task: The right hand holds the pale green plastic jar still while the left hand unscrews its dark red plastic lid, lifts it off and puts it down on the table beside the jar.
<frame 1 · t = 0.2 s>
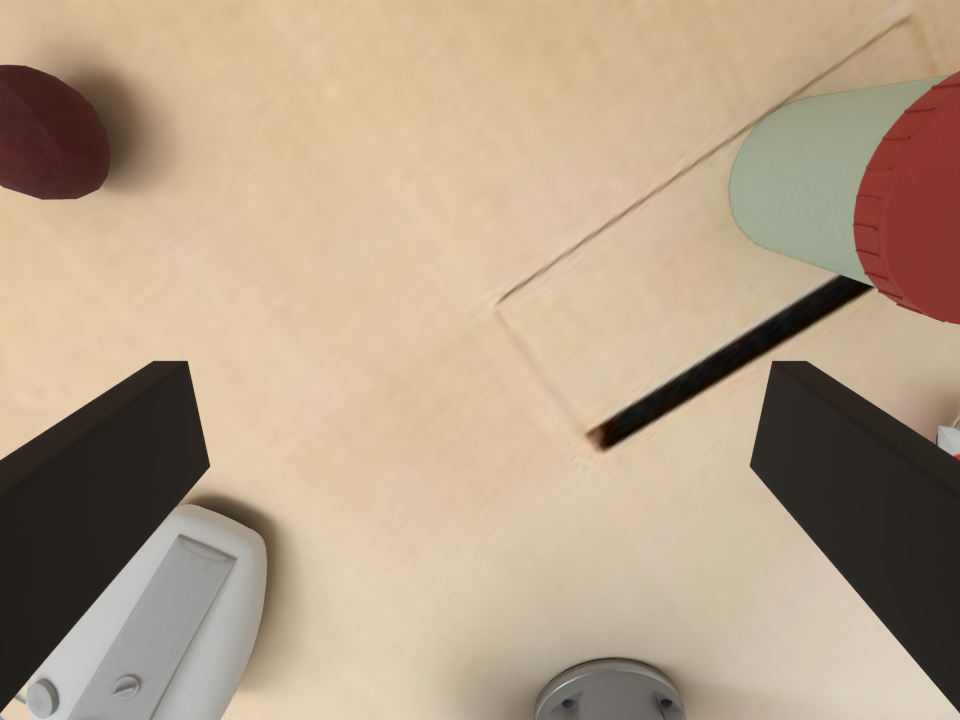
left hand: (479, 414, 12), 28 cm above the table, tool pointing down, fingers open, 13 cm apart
jar: (803, 178, 37), on the table
fish: (888, 454, 45), on the table
projector: (186, 592, 51), on the table
potato: (79, 138, 36), on the table
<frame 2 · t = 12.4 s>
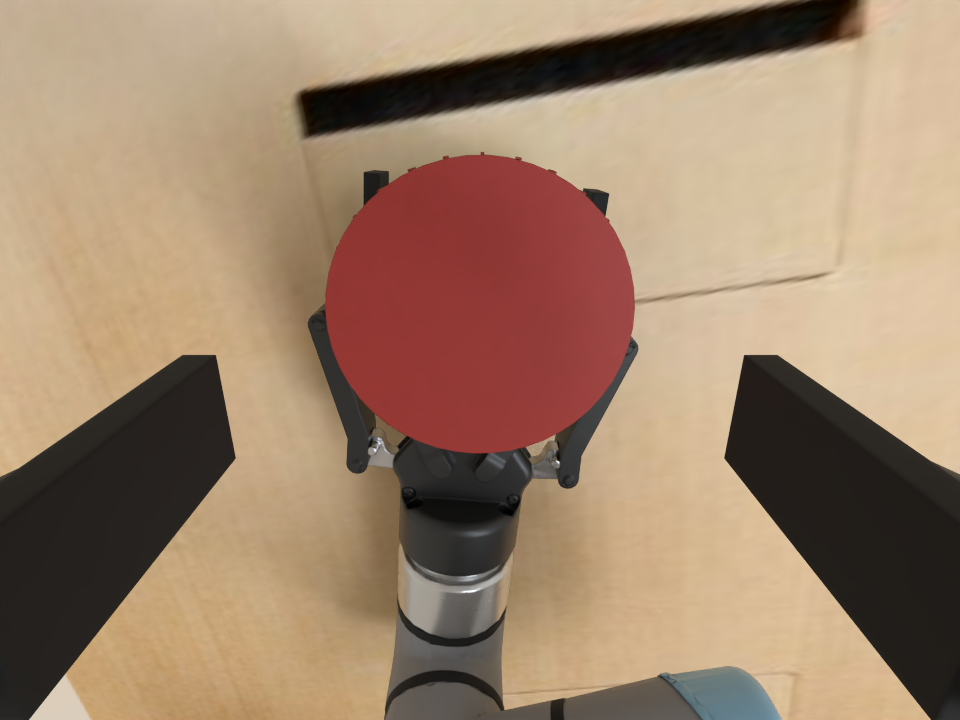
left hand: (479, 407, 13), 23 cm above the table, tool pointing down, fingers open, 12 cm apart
right hand: (486, 181, 27), fingers closed on jar, 10 cm apart
lid: (479, 317, 19), point 16 cm above the table, screwed on, not yet turned
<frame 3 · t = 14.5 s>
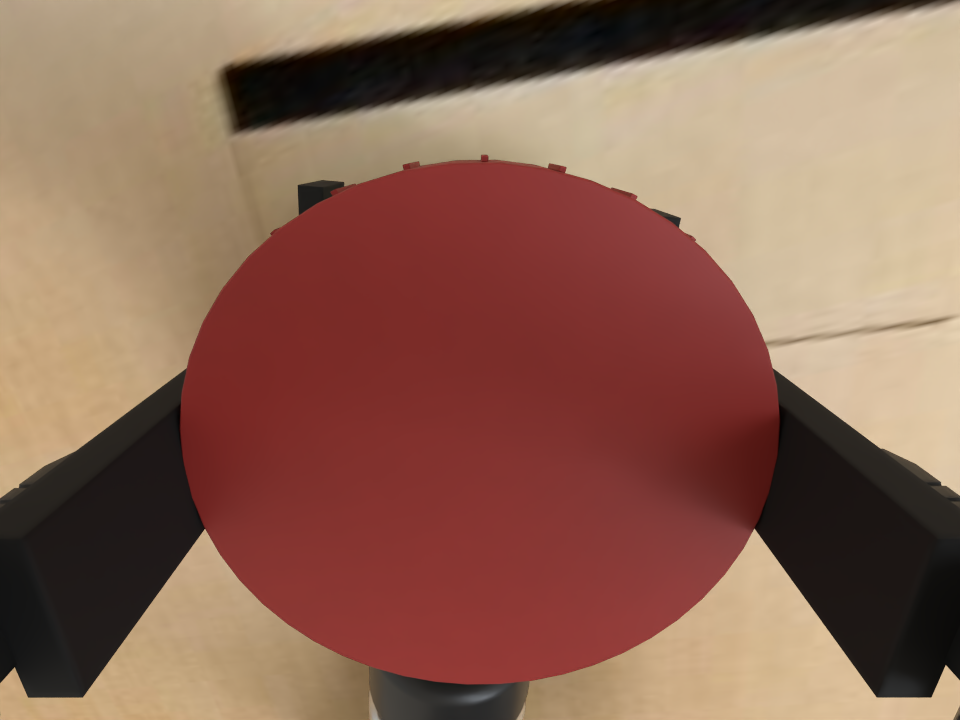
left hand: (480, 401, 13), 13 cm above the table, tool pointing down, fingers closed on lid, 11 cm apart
lid: (479, 466, 10), point 16 cm above the table, screwed on, not yet turned, touching left hand
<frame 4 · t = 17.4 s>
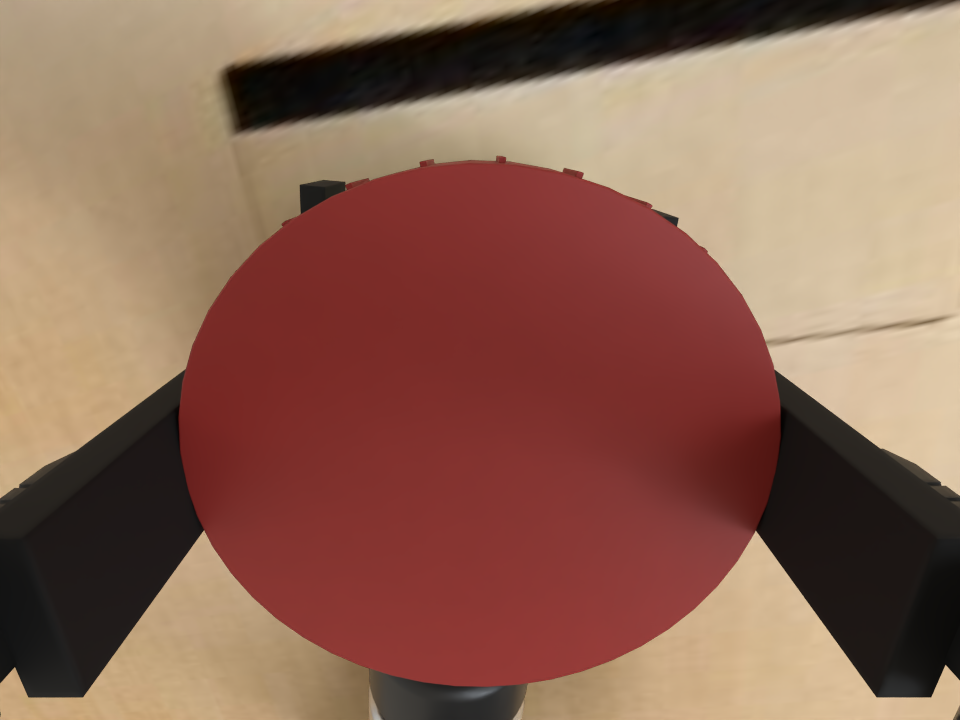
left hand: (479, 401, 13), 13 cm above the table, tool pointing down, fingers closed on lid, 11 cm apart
lid: (479, 467, 10), point 16 cm above the table, turned 87° so far, risen 0.2 cm, still on its thread, touching left hand
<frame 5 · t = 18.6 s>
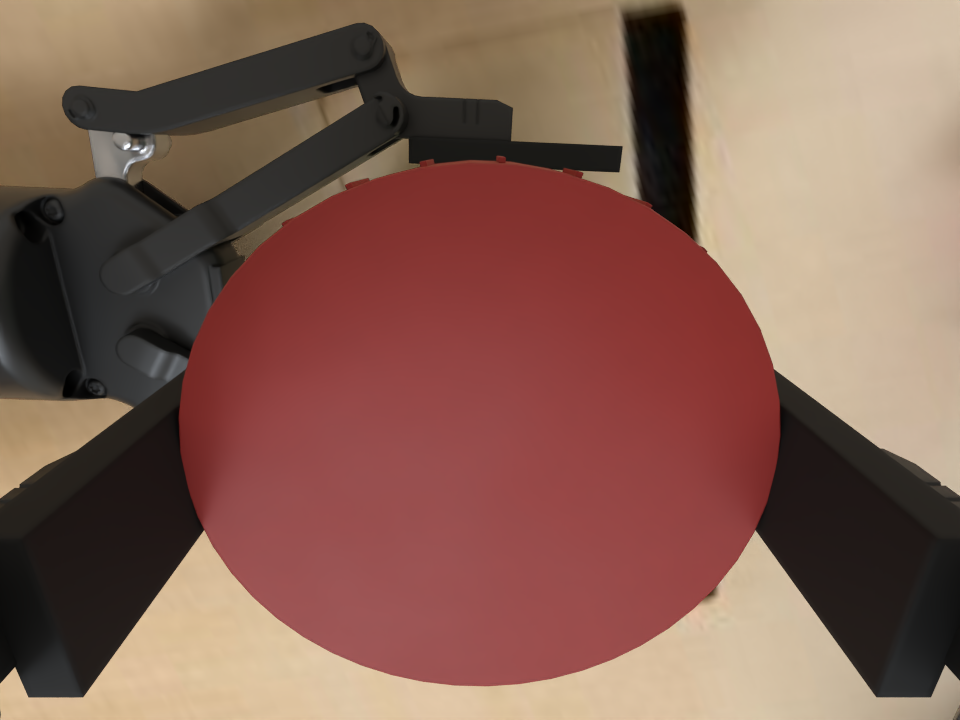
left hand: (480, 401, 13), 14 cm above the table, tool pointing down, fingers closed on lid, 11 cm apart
right hand: (591, 317, 20), fingers closed on jar, 10 cm apart
lid: (479, 467, 10), point 16 cm above the table, off its thread, touching left hand
when the left hand's fingers open (0 cm above the table, at t = 23.8 s): lid drops 1 cm, point 2 cm above the table.
when the right hand's fingers open (6 cm above the table, at t = 24.8 s): jar stays where it is, on the table.
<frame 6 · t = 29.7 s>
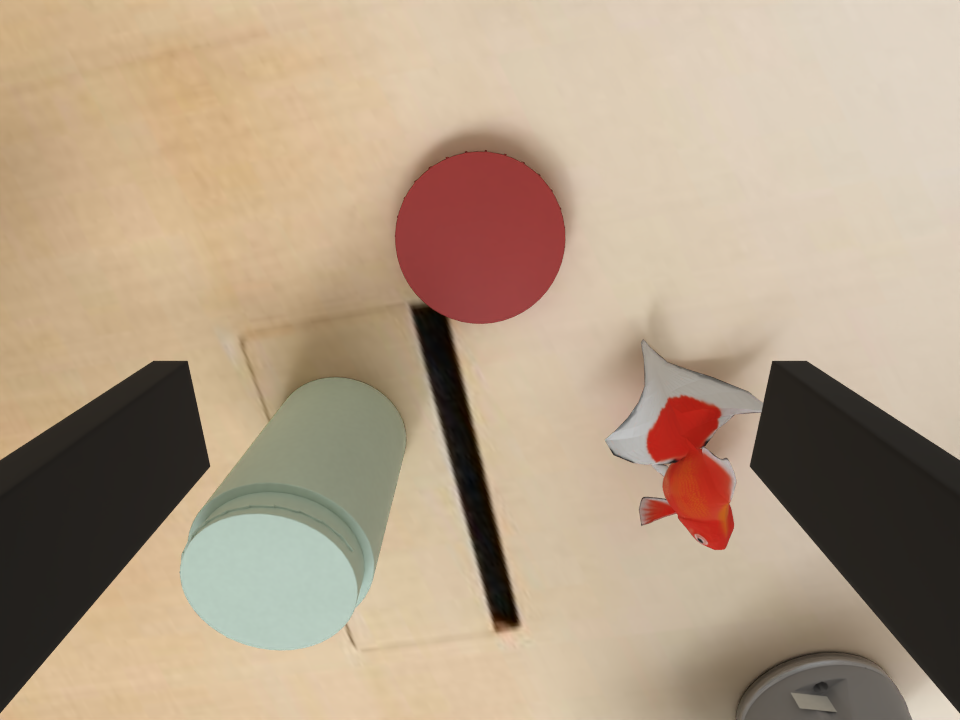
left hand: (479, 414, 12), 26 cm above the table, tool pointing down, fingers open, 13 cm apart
lid: (480, 241, 35), point 2 cm above the table, off its thread
jar: (341, 436, 42), on the table
fish: (660, 419, 42), on the table
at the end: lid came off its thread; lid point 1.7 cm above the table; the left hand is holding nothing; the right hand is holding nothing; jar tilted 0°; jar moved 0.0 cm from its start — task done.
